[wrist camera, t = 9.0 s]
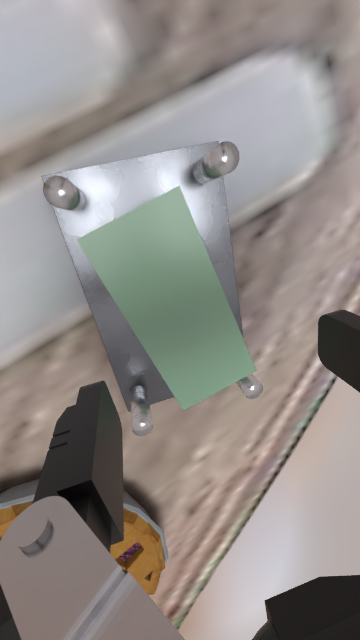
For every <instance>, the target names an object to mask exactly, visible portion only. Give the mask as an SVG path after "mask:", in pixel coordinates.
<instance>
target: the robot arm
mask: <svg viewBox="0 0 360 640" xmlns="http://www.w3.org/2000/svg"><path fill="white" fill-rule="evenodd" d="M318 355H319V358H320V360H321V362H322V364H323V365H324V366H325V367H326V368H327V369H329V370H330V371H331V372H333V373H334V374H335V375H337V376H338V377H340V378H341V379H342V380H344V381H345V382H346V383H348V384H349V385H350V386H352V387H353V388H355V389H356V390H357V391H359V392H360V316H358V315H356V314H353V313H351V312H349V311H346V310H339V311H335V312H332V313H329V314H325V315H322V316H321V317H320V318H319V322H318ZM121 541H124V514H123V451H122V427H121V422H120V418H119V415H118V412H117V410H116V407H115V405H114V403H113V400H112V398H111V395H110V393H109V390H108V388H107V385H106V383H105V382H104V381H100V382H97V383H93V384H90V385H87V386H83V387H81V388H80V390H79V394H78V398H77V403H76V405H74V406H70V407H67V408H66V410H65V411H64V412H63V414H62V415H61V417H60V418H59V419H58V421H57V423H56V426H55V430H54V433H53V438H52V440H51V443H50V446H49V451H48V453H47V456H46V460H45V463H44V466H43V470H42V473H41V476H40V480H39V483H38V486H37V490H36V493H35V496H34V500H33V503H32V505H30V506H29V507H27V508H26V509H25V510H24V511H23V512H22V513H21V514H19V515H18V516H17V517H16V519H15V520H14V521H13V522H12V523H11V524H10V526H9V527H8V529H7V530H6V532H5V533H4V535H3V537H2V539H1V541H0V640H185V639H184V638H183V637H182V636H181V634H180V633H179V632H178V631H177V629H176V628H175V627H174V626H173V625H172V623H171V622H170V621H169V620H168V619H167V617H166V616H165V615H164V614H163V612H162V611H161V610H160V609H159V608H158V606H157V605H156V604H155V603H154V601H153V600H152V599H151V598H150V597H149V595H148V594H147V593H146V592H145V590H144V589H143V588H142V587H141V586H140V584H139V583H138V582H137V581H136V580H135V579H134V577H133V576H132V575H131V574H130V573H129V572H128V571H127V570H125V571H124V570H123V569H122V568H121V566H120V565H119V564H118V563H117V562H116V560H115V559H114V558H113V557H112V555H111V554H110V548H111V545H113V544H116V543H119V542H121ZM265 606H266V612H267V619H268V621H267V623H265V625H263V626H262V628H261V629H260V630H259V631H258V632H257V633H256V635H255V636H254V638H253V639H252V640H360V575H352V576H328V577H318V578H316V579H314V580H311V581H309V582H307V583H304V584H302V585H300V586H297V587H295V588H293V589H290V590H288V591H286V592H283V593H281V594H279V595H277V596H274V597H272V598H270V599H267V600H265Z"/></svg>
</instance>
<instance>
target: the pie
mask: <svg viewBox="0 0 360 640" xmlns="http://www.w3.org/2000/svg"><path fill="white" fill-rule="evenodd" d="M39 480H40V479H37V480H33V481H30V482H26V483H23V484H19V485H16V486H13V487H11V488H9V489H8V490H6V491H4V492H3V493H1V494H0V541H1V539H2V537H3V535H4V533H5V532H6V530H7V529H8V527H9V526H10V524H11V523H12V522H13V521H14V520H15V519H16V517H17V516H18V515H19V514H21V513H22V512H23V511H24V510H25V509H26V508H27V507H29V506H30V505H32V503H33V500H34V496H35V493H36V490H37V486H38V483H39ZM123 514H124V541H121V542H119V543H116V544H113V545H111V548H110V554H111V555H112V557H113V558H114V559H115V560H116V562H117V563H118V564H119V565H120V566H121V568H122V569H123V570H124V571H125V570H127V571H128V572H129V573H130V574H131V575H132V576H133V577H134V579H135V580H136V581H137V582H138V583H139V584H140V586H141V587H142V588H143V589H144V590H145V592H146V593H147V594H148V595H153V594H155V591H156V588H157V585H158V582H159V578H160V574H161V572H162V570H163V569H164V568H165V563H166V561H167V559H168V551H167V547H166V542H165V537H164V533H163V530H162V529H161V528H160V527H159V526H157V525H156V524H155V523H154V522H153V521H152V520H151V519H150V517H149V515H148V514H147V512H146V511H145V509H144V508H143V507H141V506H140V505H139V504H138V503H137V502H136V501H135V500H134V499H133V498H132V497H131V496H130V495H129V494H128V493H127V492H126V491H125V490H123Z"/></svg>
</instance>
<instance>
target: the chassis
mask: <svg viewBox="0 0 360 640" xmlns="http://www.w3.org/2000/svg"><path fill="white" fill-rule="evenodd" d="M238 162H239V152H238V149H237V147H236V146H235V145H234V144H233V143H231V142H227V141H226V142H222V143H220V144H219V142H218V141H216V142H211V143H206V144H201V145H195V146H190V147H185V148H180V149H175V150H170V151H165V152H160V153H155V154H150V155H145V156H140V157H135V158H130V159H125V160H120V161H115V162H110V163H105V164H100V165H95V166H90V167H85V168H80V169H74V170H69V171H64V172H59V173H54V174H49V175H44V176H42V179H43V182H44V187H43V192H44V195H45V198H46V199H47V201H48V202H49V203H50V204H51V205H52V206H53V209H54V211H55V214H56V217H57V219H58V222H59V225H60V228H61V230H62V233H63V236H64V238H65V241H66V244H67V247H68V249H69V252H70V255H71V257H72V260H73V263H74V265H75V268H76V271H77V274H78V276H79V279H80V282H81V284H82V287H83V290H84V293H85V295H86V298H87V301H88V303H89V306H90V309H91V311H92V314H93V317H94V320H95V322H96V325H97V328H98V330H99V333H100V336H101V339H102V341H103V344H104V347H105V349H106V352H107V355H108V357H109V360H110V363H111V366H112V368H113V371H114V374H115V376H116V379H117V382H118V384H119V387H120V390H121V393H122V395H123V398H124V401H125V403H126V406H127V409H128V412H129V411H131V414H132V429H133V432H134V433H135V434H136V435H139V436H143V435H147V434H148V433H150V432H151V430H152V428H153V424H152V418H151V412H150V406H149V405H151V404H154V403H157V402H160V401H163V400H166V399H169V398H172V397H174V395H173V393H172V392H171V390H170V389H169V387H168V385H167V384H166V382H165V381H164V379H163V377H162V376H161V374H160V373H159V371H158V369H157V368H156V366H155V365H154V363H153V362H152V360H151V358H150V357H149V355H148V354H147V352H146V350H145V349H144V347H143V346H142V344H141V342H140V341H139V339H138V338H137V336H136V335H135V333H134V331H133V330H132V328H131V327H130V325H129V323H128V322H127V320H126V319H125V317H124V315H123V314H122V312H121V311H120V309H119V307H118V306H117V304H116V303H115V301H114V300H113V298H112V296H111V295H110V293H109V292H108V290H107V288H106V287H105V285H104V284H103V282H102V280H101V279H100V277H99V276H98V274H97V272H96V271H95V269H94V268H93V266H92V265H91V263H90V261H89V260H88V258H87V257H86V255H85V253H84V252H83V250H82V249H81V247H80V245H79V244H78V242H77V241H76V239H78V238H80V237H82V236H84V235H86V234H88V233H90V232H92V231H93V230H95V229H97V228H99V227H101V226H103V225H105V224H107V223H109V222H111V221H113V220H114V219H116V218H118V217H120V216H122V215H124V214H126V213H128V212H130V211H132V210H133V209H135V208H137V207H139V206H141V205H143V204H145V203H147V202H149V201H151V200H153V199H154V198H156V197H158V196H160V195H162V194H164V193H166V192H168V191H170V190H172V189H173V188H175V187H177V186H180V188H181V191H182V193H183V196H184V198H185V200H186V203H187V205H188V208H189V210H190V212H191V215H192V217H193V220H194V222H195V224H196V227H197V229H198V231H199V234H200V236H201V239H202V241H203V243H204V246H205V248H206V251H207V253H208V255H209V258H210V260H211V263H212V265H213V267H214V270H215V272H216V275H217V277H218V279H219V282H220V284H221V286H222V289H223V291H224V294H225V296H226V298H227V301H228V303H229V306H230V308H231V310H232V313H233V315H234V318H235V320H236V322H237V325H238V327H239V330H240V332H241V334H242V337H243V332H242V324H241V316H240V308H239V300H238V292H237V284H236V276H235V268H234V260H233V252H232V245H231V237H230V229H229V221H228V213H227V205H226V197H225V189H224V181H223V175H225V174H228V173H230V172H232V171H233V170H234V169H235V168H236V167H237V165H238ZM236 383H237V384H238V386H239V387H240V389H241V390H242V391H243V393H244V394H245V395H246V397H247V398H249V399H254V398H257V397H258V396H260V394H261V393H262V391H263V387H262V385H261V384H260V383H259V382H258V380H257V379H256V378H255V377H254V376H253V375H252V374H249V375H247V376H246V377H244V378H242V379H240V380H238V381H237V382H236Z"/></svg>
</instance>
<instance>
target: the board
mask: <svg viewBox="0 0 360 640" xmlns="http://www.w3.org/2000/svg"><path fill="white" fill-rule="evenodd" d="M76 241H77V242H78V244H79V245H80V247H81V249H82V250H83V252H84V253H85V255H86V257H87V258H88V260H89V261H90V263H91V265H92V266H93V268H94V269H95V271H96V272H97V274H98V276H99V277H100V279H101V280H102V282H103V284H104V285H105V287H106V288H107V290H108V292H109V293H110V295H111V296H112V298H113V300H114V301H115V303H116V304H117V306H118V307H119V309H120V311H121V312H122V314H123V315H124V317H125V319H126V320H127V322H128V323H129V325H130V327H131V328H132V330H133V331H134V333H135V335H136V336H137V338H138V339H139V341H140V342H141V344H142V346H143V347H144V349H145V350H146V352H147V354H148V355H149V357H150V358H151V360H152V362H153V363H154V365H155V366H156V368H157V369H158V371H159V373H160V374H161V376H162V377H163V379H164V381H165V382H166V384H167V385H168V387H169V389H170V390H171V392H172V393H173V395H174V397H175V398H176V400H177V401H178V403H179V404H180V406H181V408H182V409H183V411H184V410H186V409H188V408H190V407H191V406H193V405H195V404H197V403H199V402H200V401H202V400H204V399H206V398H208V397H209V396H211V395H213V394H215V393H217V392H219V391H220V390H222V389H224V388H226V387H228V386H229V385H231V384H233V383H235V382H237V381H238V380H240V379H242V378H244V377H246V376H247V375H249V374H251V373H253V372H255V371H257V370H256V368H255V365H254V363H253V361H252V358H251V356H250V353H249V351H248V349H247V346H246V344H245V342H244V339H243V337H242V334H241V332H240V330H239V327H238V325H237V322H236V320H235V318H234V315H233V313H232V310H231V308H230V306H229V303H228V301H227V298H226V296H225V294H224V291H223V289H222V286H221V284H220V282H219V279H218V277H217V275H216V272H215V270H214V267H213V265H212V263H211V260H210V258H209V255H208V253H207V251H206V248H205V246H204V243H203V241H202V239H201V236H200V234H199V231H198V229H197V227H196V224H195V222H194V220H193V217H192V215H191V212H190V210H189V208H188V205H187V203H186V200H185V198H184V196H183V193H182V191H181V188H180V186H177V187H175V188H173V189H172V190H170V191H168V192H166V193H164V194H162V195H160V196H158V197H156V198H154V199H153V200H151V201H149V202H147V203H145V204H143V205H141V206H139V207H137V208H135V209H133V210H132V211H130V212H128V213H126V214H124V215H122V216H120V217H118V218H116V219H114V220H113V221H111V222H109V223H107V224H105V225H103V226H101V227H99V228H97V229H95V230H93V231H92V232H90V233H88V234H86V235H84V236H82V237H80V238H78V239H76Z"/></svg>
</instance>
